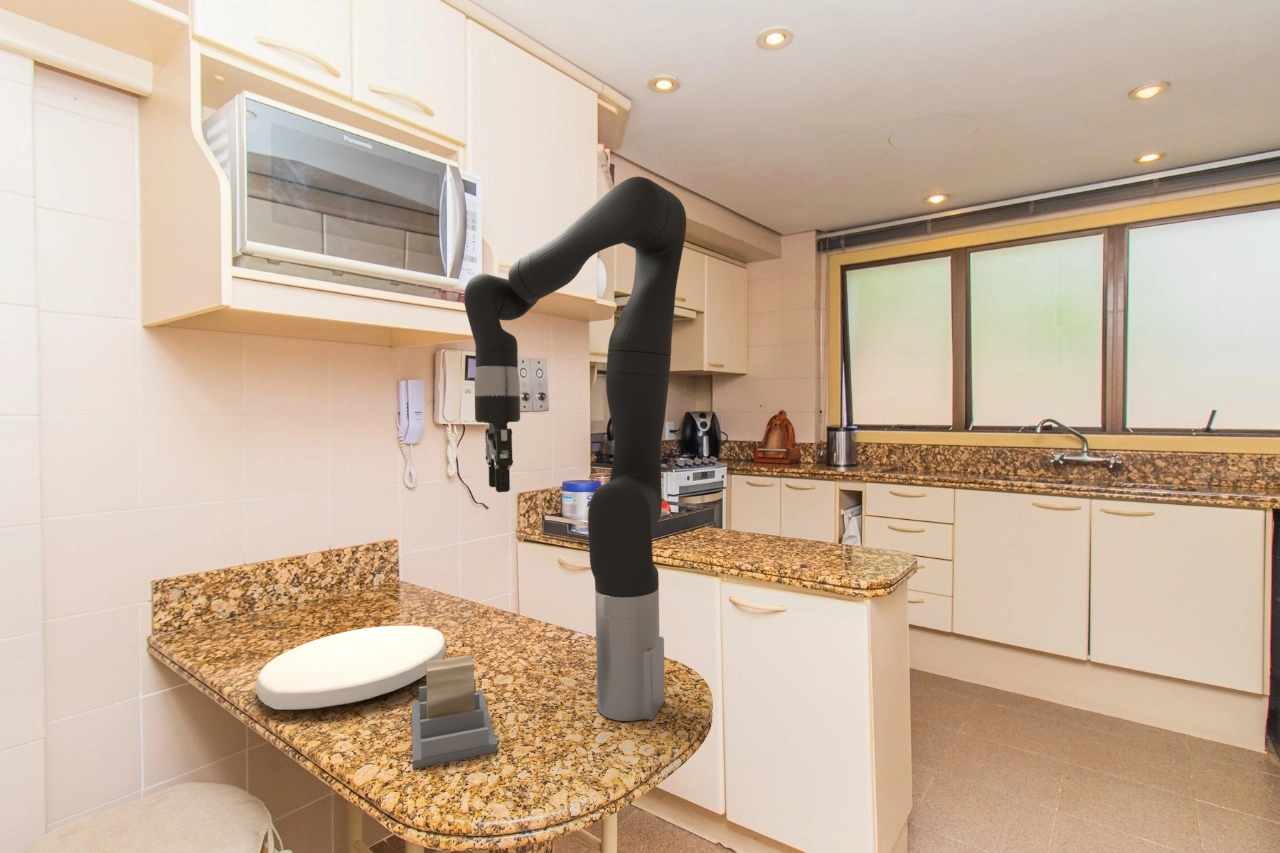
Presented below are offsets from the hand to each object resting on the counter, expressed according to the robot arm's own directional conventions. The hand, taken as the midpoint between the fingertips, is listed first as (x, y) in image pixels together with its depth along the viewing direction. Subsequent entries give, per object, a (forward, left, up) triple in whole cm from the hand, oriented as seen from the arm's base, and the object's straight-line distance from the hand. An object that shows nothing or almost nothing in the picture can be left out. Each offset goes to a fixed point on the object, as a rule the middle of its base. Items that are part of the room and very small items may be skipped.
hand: (499, 489), depth 104 cm
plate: (+20, +12, -31) cm, 38 cm away
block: (-5, +21, -29) cm, 36 cm away
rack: (-5, +21, -30) cm, 37 cm away
